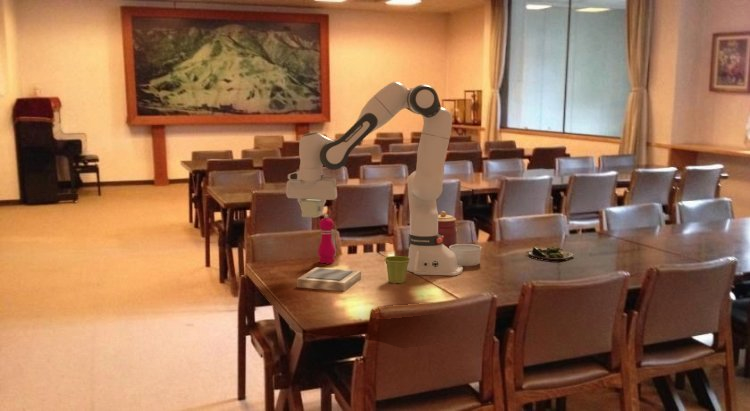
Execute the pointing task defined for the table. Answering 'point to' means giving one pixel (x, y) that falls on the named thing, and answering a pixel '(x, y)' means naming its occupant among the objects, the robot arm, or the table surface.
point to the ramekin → (467, 254)
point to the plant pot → (397, 268)
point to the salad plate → (549, 254)
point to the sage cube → (311, 208)
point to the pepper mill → (326, 241)
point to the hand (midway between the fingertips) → (311, 210)
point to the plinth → (329, 279)
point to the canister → (447, 229)
